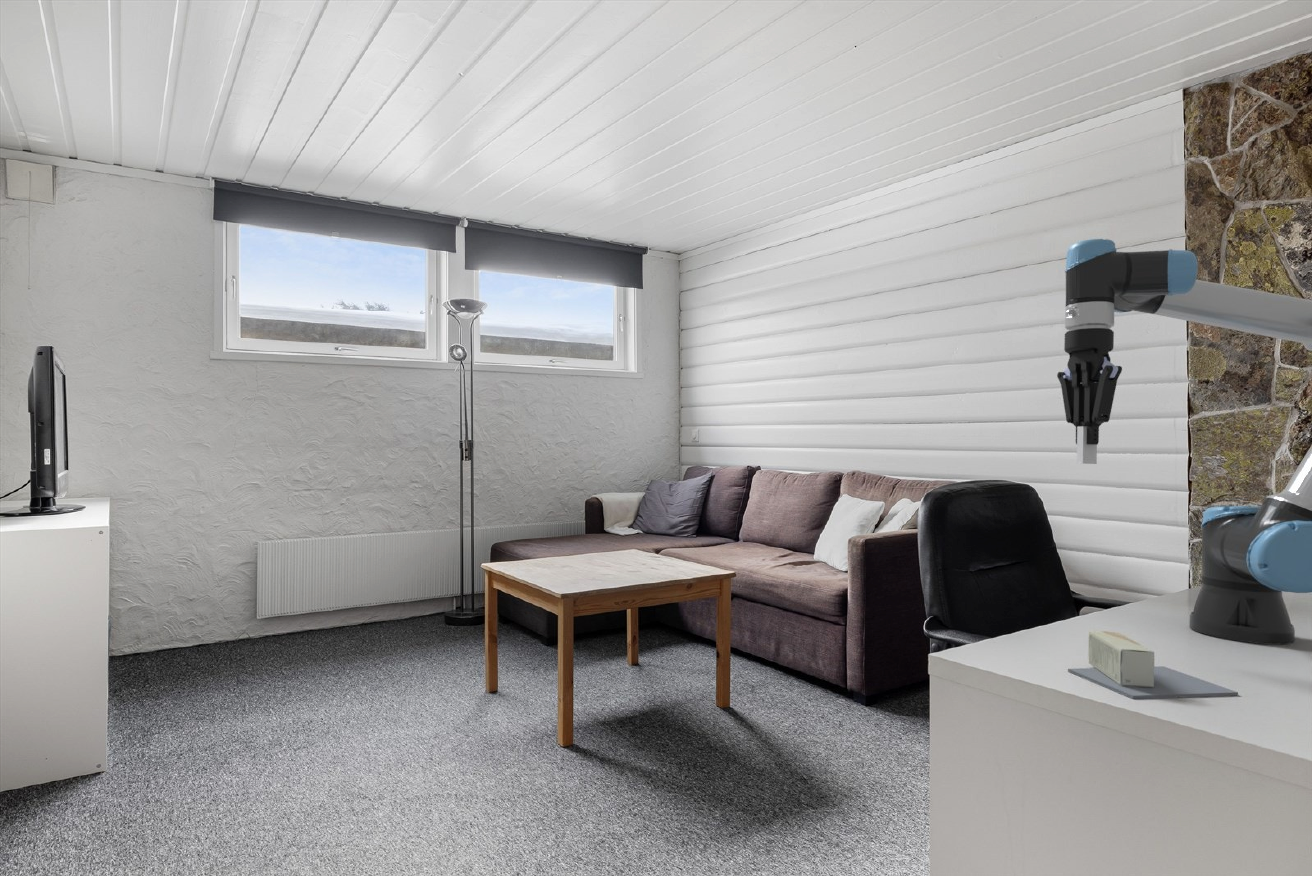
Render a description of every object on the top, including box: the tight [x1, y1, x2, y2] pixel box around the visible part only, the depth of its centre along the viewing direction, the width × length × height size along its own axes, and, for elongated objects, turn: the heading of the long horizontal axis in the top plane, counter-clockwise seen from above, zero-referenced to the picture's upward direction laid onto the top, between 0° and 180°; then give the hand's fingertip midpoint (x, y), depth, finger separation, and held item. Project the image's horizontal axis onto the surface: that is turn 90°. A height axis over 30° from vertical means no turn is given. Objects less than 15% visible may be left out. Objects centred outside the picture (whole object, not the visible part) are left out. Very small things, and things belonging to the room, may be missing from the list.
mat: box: [1067, 665, 1239, 700], centre depth 105 cm, size 16×12×1 cm
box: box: [1087, 630, 1155, 687], centre depth 107 cm, size 5×4×11 cm
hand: (1086, 463), depth 132 cm, fingers closed
